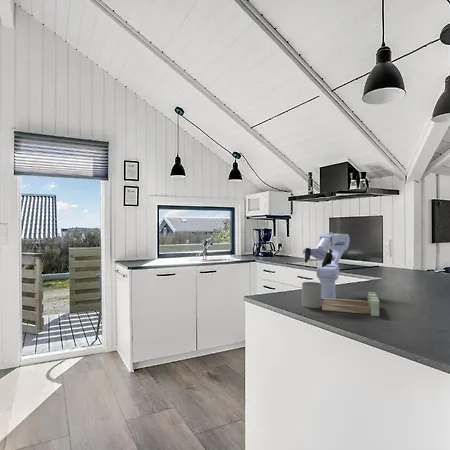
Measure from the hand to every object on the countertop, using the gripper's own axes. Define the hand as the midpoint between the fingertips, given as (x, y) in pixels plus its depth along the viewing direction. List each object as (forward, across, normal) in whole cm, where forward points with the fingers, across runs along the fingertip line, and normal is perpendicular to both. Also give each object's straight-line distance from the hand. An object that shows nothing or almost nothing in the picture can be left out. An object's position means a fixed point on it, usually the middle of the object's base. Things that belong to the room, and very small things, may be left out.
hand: (314, 263), depth 156 cm
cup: (+7, +3, +18) cm, 20 cm away
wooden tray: (+4, +17, +16) cm, 24 cm away
